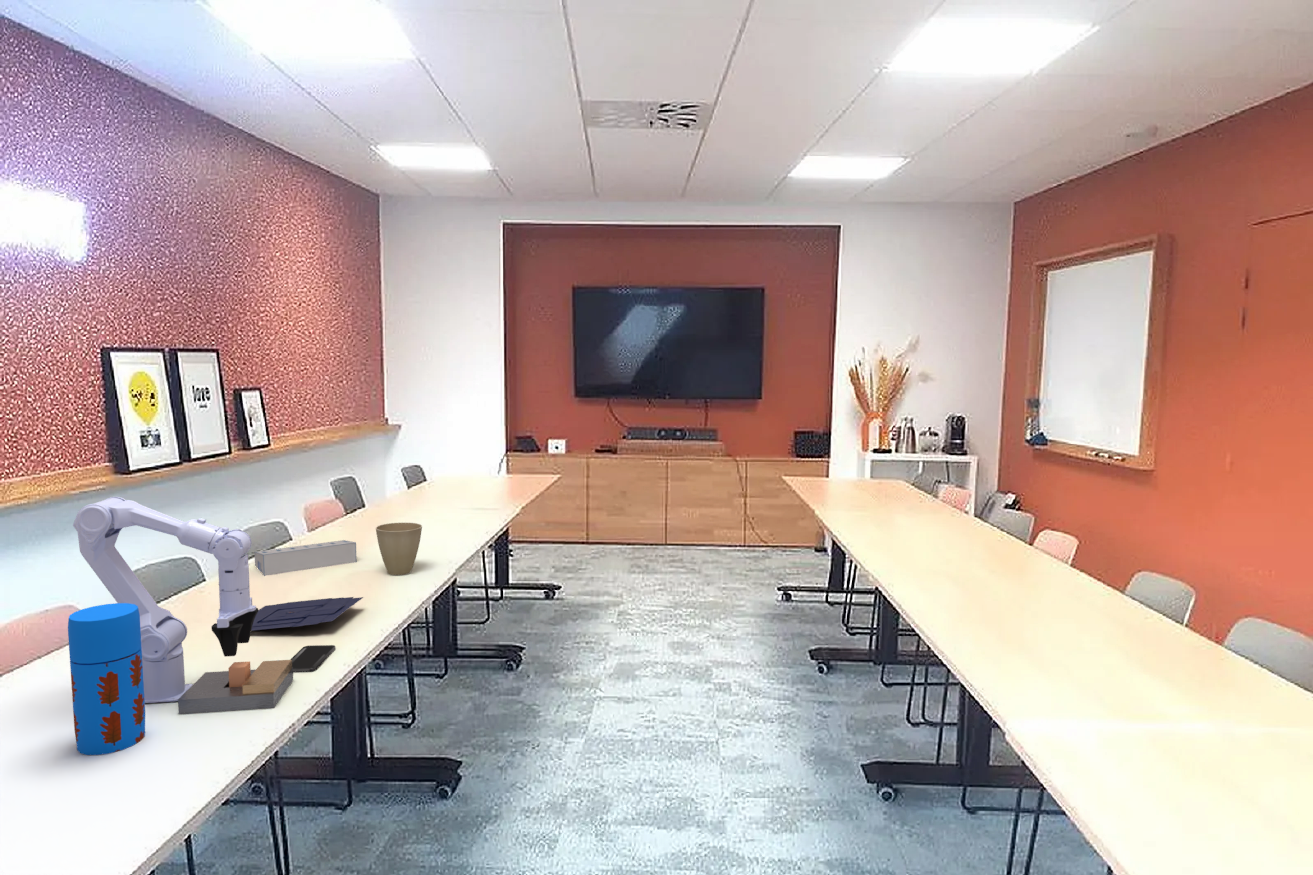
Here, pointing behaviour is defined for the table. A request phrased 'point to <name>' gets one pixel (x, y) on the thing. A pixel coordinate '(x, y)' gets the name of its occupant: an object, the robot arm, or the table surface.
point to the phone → (311, 657)
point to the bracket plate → (238, 690)
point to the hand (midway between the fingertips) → (236, 649)
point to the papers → (301, 613)
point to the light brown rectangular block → (239, 673)
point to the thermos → (107, 678)
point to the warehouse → (305, 557)
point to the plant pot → (399, 546)
